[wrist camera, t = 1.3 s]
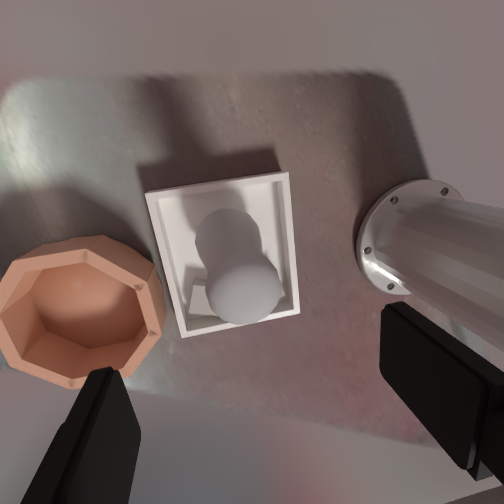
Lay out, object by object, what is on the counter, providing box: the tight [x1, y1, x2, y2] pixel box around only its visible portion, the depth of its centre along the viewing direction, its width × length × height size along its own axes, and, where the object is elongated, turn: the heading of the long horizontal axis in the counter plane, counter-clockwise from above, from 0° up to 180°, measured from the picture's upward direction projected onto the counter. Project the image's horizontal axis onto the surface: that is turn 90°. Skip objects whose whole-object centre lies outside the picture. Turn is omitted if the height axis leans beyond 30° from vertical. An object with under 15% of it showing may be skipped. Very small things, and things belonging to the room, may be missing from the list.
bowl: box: [0, 235, 167, 389], centre depth 25 cm, size 12×12×5 cm
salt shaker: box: [195, 208, 282, 325], centre depth 21 cm, size 6×6×13 cm
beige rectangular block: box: [189, 278, 217, 316], centre depth 28 cm, size 4×3×2 cm
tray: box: [145, 171, 300, 338], centre depth 27 cm, size 12×14×2 cm
